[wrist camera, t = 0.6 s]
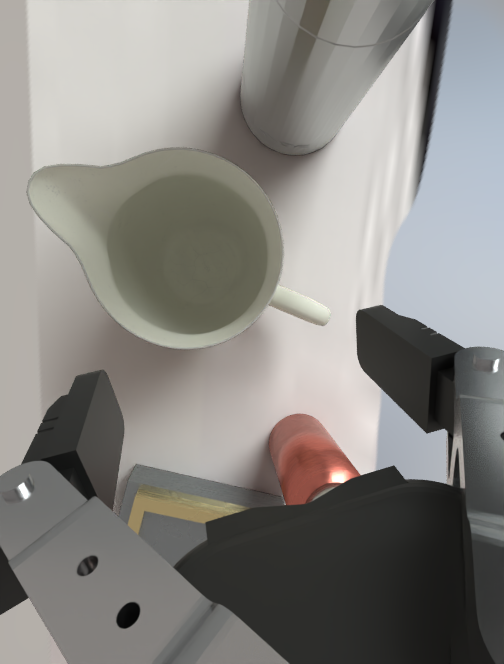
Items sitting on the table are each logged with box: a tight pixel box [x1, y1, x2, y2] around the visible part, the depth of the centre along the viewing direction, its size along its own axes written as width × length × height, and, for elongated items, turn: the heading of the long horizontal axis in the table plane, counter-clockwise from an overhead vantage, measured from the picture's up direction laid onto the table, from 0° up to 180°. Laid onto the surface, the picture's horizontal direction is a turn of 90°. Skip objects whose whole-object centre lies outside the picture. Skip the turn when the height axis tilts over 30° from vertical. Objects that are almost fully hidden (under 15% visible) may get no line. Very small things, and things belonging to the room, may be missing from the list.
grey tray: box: [119, 464, 284, 567], centre depth 33 cm, size 16×14×4 cm
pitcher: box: [27, 147, 331, 350], centre depth 26 cm, size 11×18×14 cm, turn 67°
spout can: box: [269, 414, 361, 505], centre depth 27 cm, size 6×6×15 cm
